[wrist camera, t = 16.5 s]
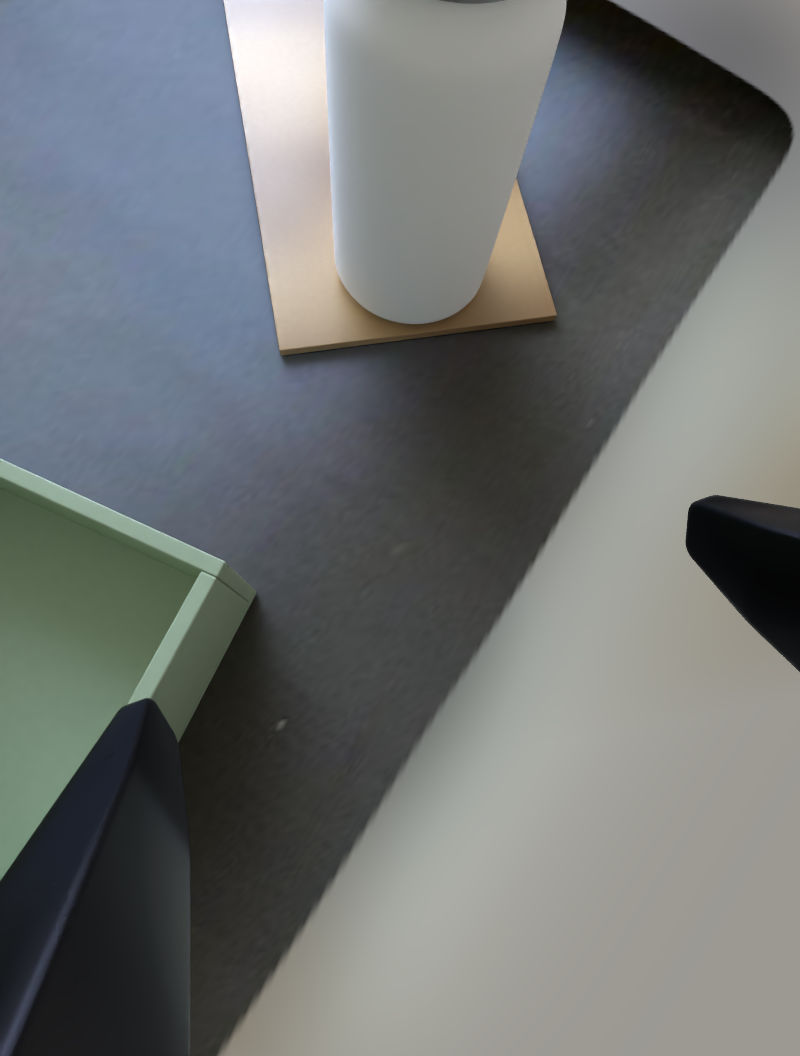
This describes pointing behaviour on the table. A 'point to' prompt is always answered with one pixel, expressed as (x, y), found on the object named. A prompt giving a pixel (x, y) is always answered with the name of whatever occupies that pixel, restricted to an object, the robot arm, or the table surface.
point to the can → (428, 141)
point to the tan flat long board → (306, 203)
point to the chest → (93, 635)
